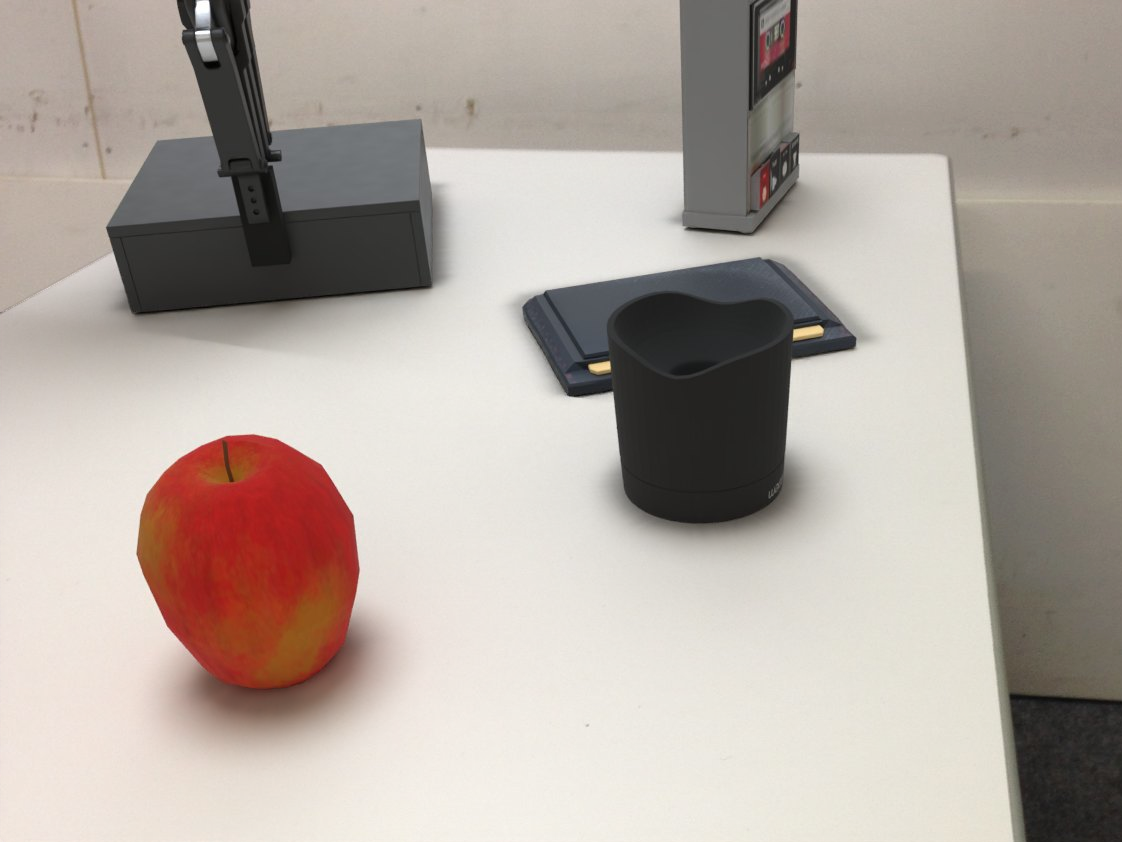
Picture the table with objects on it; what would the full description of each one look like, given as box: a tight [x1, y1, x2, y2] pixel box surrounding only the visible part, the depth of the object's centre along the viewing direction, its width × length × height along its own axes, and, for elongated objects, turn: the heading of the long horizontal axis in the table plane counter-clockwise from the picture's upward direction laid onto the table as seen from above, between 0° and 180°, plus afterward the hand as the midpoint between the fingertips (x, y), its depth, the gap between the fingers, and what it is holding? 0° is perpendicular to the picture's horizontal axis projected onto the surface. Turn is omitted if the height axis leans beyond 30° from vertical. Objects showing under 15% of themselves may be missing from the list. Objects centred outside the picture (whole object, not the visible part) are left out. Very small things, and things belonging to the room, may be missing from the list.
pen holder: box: [607, 291, 794, 525], centre depth 67 cm, size 9×9×10 cm
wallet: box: [521, 256, 857, 397], centre depth 87 cm, size 20×2×15 cm
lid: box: [105, 118, 433, 314], centre depth 101 cm, size 22×21×6 cm
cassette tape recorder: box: [679, 0, 801, 234], centre depth 100 cm, size 14×6×25 cm, turn 159°
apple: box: [135, 433, 361, 690], centre depth 56 cm, size 9×9×12 cm
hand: (272, 261), depth 92 cm, fingers closed
